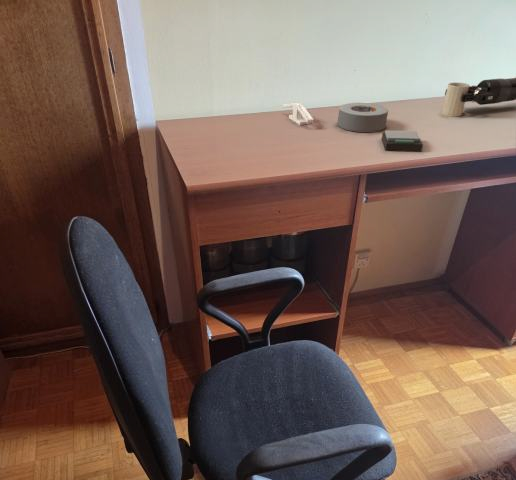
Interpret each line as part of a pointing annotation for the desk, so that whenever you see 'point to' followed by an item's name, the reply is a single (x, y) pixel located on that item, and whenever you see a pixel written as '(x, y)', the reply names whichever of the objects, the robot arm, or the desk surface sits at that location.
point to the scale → (401, 141)
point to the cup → (454, 99)
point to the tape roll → (362, 117)
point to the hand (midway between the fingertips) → (453, 95)
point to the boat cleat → (299, 114)
